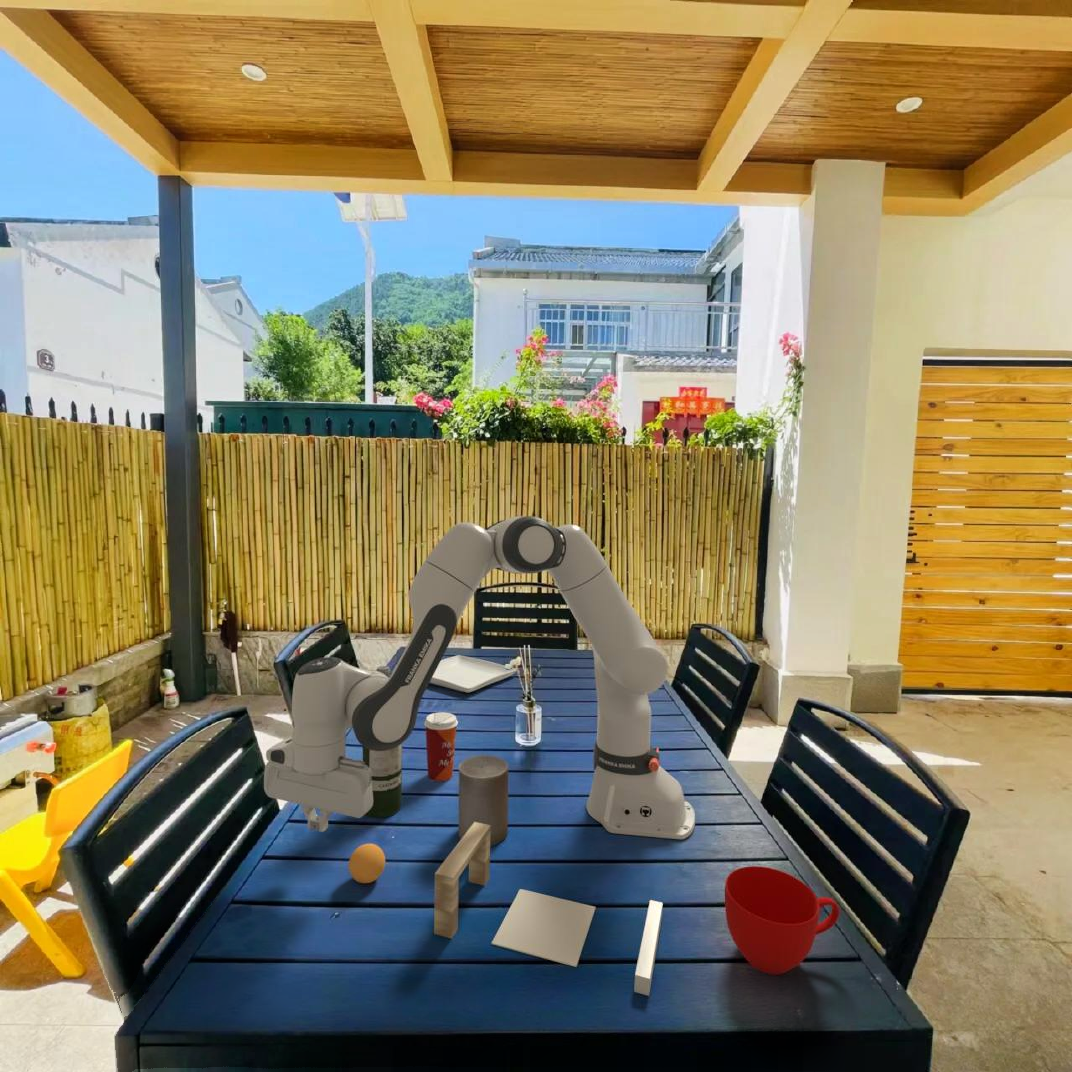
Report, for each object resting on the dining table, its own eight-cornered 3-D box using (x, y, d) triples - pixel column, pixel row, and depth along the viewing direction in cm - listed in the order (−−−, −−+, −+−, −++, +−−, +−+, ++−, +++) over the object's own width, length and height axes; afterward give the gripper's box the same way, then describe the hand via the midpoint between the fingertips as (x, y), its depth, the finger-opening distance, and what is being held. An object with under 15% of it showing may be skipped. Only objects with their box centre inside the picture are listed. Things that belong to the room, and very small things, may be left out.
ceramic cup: (860, 990, 86) (866, 922, 85) (742, 995, 85) (746, 926, 84) (811, 923, 99) (816, 864, 98) (708, 926, 97) (712, 866, 96)
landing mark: (595, 908, 101) (595, 906, 101) (576, 967, 88) (576, 965, 88) (520, 889, 105) (520, 888, 105) (491, 944, 92) (491, 942, 92)
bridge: (489, 878, 107) (490, 825, 107) (452, 938, 93) (453, 877, 92) (473, 874, 108) (474, 821, 107) (433, 933, 94) (435, 873, 93)
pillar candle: (504, 817, 127) (505, 747, 126) (510, 845, 117) (511, 769, 116) (456, 821, 125) (457, 749, 124) (459, 849, 116) (459, 772, 114)
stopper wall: (661, 917, 99) (662, 902, 99) (649, 995, 84) (649, 978, 84) (649, 914, 100) (650, 899, 99) (634, 991, 84) (635, 974, 84)
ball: (391, 873, 108) (392, 840, 108) (372, 894, 102) (373, 860, 102) (361, 865, 110) (362, 833, 109) (341, 886, 104) (341, 852, 104)
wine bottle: (376, 822, 124) (377, 676, 121) (354, 807, 129) (355, 667, 126) (408, 808, 129) (410, 668, 127) (387, 794, 135) (388, 659, 132)
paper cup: (450, 786, 139) (451, 725, 138) (418, 781, 141) (419, 722, 139) (461, 770, 147) (462, 713, 146) (430, 766, 148) (431, 709, 147)
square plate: (469, 699, 195) (469, 687, 195) (406, 682, 210) (406, 670, 209) (518, 677, 218) (518, 667, 217) (458, 663, 232) (458, 653, 232)
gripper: (381, 755, 107) (379, 831, 108) (283, 735, 113) (282, 808, 114) (360, 771, 101) (358, 851, 102) (258, 749, 107) (257, 825, 108)
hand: (317, 828), depth 108 cm, fingers closed
